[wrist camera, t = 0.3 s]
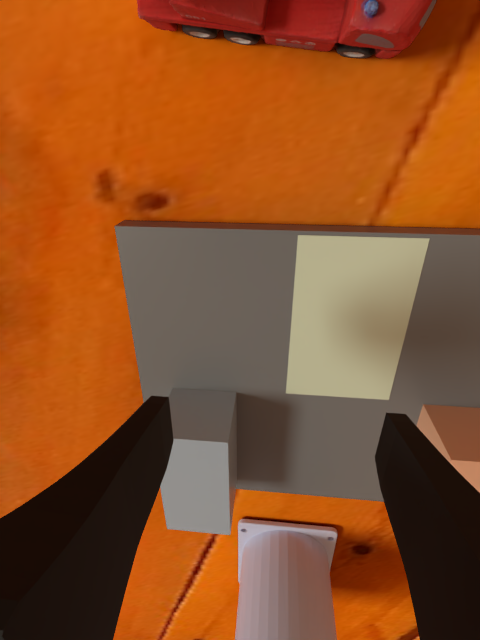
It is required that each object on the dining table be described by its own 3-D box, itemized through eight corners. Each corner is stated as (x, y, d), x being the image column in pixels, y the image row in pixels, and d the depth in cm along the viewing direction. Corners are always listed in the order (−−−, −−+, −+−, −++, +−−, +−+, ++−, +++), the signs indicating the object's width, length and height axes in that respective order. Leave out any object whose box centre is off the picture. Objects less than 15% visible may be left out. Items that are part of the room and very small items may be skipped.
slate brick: (236, 479, 26) (230, 534, 22) (182, 474, 26) (167, 528, 23) (236, 392, 22) (227, 442, 19) (172, 388, 22) (152, 436, 19)
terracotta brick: (455, 498, 25) (484, 560, 21) (395, 493, 25) (413, 553, 21) (495, 408, 21) (538, 466, 17) (423, 404, 21) (451, 459, 18)
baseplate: (473, 494, 26) (482, 510, 25) (161, 468, 28) (156, 482, 27) (598, 231, 17) (620, 239, 16) (123, 220, 19) (114, 226, 18)
